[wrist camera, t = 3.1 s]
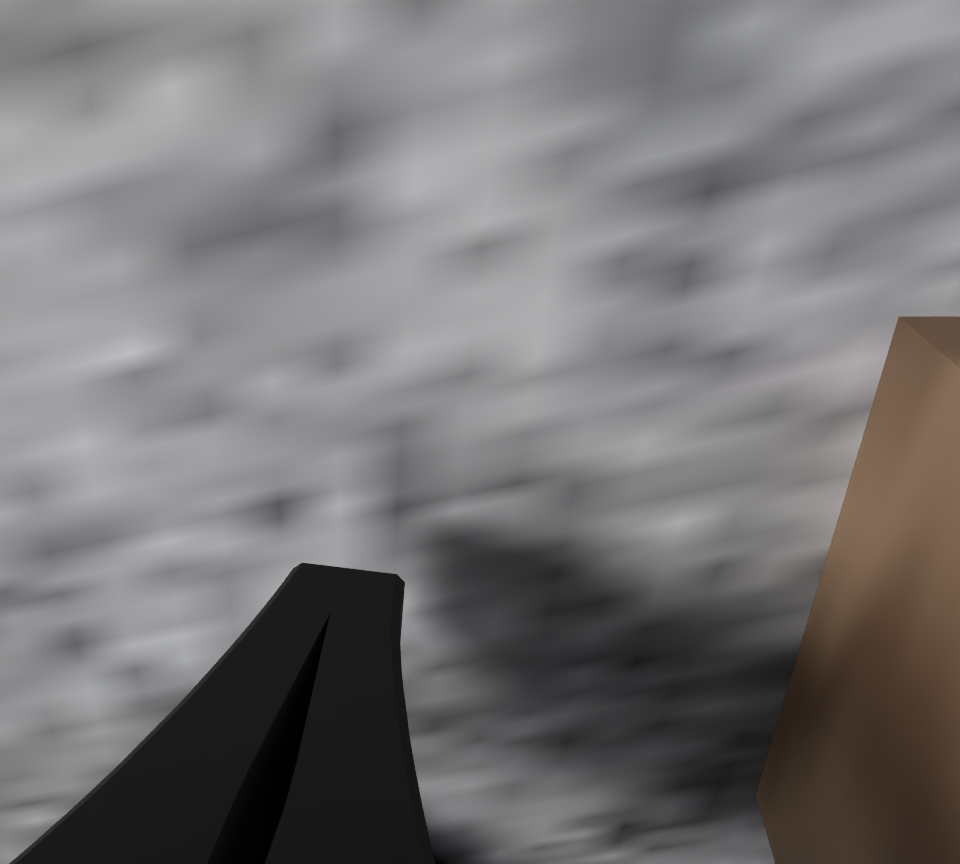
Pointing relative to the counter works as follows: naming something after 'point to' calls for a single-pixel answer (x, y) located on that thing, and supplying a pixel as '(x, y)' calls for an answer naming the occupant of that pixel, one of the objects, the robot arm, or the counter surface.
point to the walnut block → (882, 639)
